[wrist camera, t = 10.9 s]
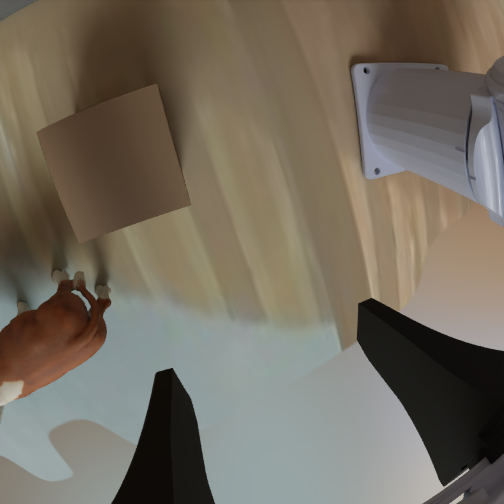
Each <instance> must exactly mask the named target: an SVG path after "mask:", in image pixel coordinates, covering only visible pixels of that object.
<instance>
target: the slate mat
mask: <svg viewBox="0 0 504 504" xmlns="http://www.w3.org/2000/svg"><path fill="white" fill-rule="evenodd" d="M34 1H36V0H0V21H1V20H3V19H4V18H6V17H8V16H9V15H11V14H13V13H14V12H16V11H18V10H20V9H21V8H23V7H25V6H27V5H29V4H31V3H33V2H34Z"/></svg>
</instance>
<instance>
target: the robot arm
mask: <svg viewBox="0 0 504 504" xmlns="http://www.w3.org/2000/svg"><path fill="white" fill-rule="evenodd" d="M364 67H365V68H366V70H367V71H366V74H365V73H364V71H363V69H364ZM351 74H352V81H353V87H354V94H355V101H356V109H357V117H358V125H359V134H360V144H361V155H362V167H363V175H364V177H366V178H368V179H375V178H379V177H382V176H386V175H390V174H394V173H398V172H402V171H406V170H409V171H411V172H413V173H416V174H418V175H420V176H423V177H425V178H427V179H429V180H431V181H434V182H436V183H438V184H440V185H442V186H445V187H447V188H449V189H451V190H453V191H455V192H457V193H459V194H461V195H463V196H465V197H467V198H469V199H471V200H473V201H475V202H477V203H479V204H481V205H483V206H484V207H486V208H487V210H488V212H489V216H490V219H491V220H493V221H494V222H496V223H498V224H499V225H501V226H503V227H504V56H502V57H500V58H499V59H497V60H496V61H495V63H494V64H493V66H492V67H491V68H490V69H489V70H488V71H487V73H486V75H485V74H478V73H469V72H460V71H449V68H448V66H447V65H444V64H428V63H357V64H354V65H353V66H352V67H351ZM376 168H377V171H376V173H374V170H375V169H376ZM357 341H358V343H359V344H360V346H361V348H362V350H363V351H364V353H365V355H366V356H367V358H368V360H369V361H370V362H371V364H372V365H373V366H374V368H375V369H376V370H377V371H378V373H379V374H380V375H381V377H382V378H383V379H384V381H385V382H386V383H387V385H388V386H389V387H390V388H391V390H392V391H393V392H394V394H395V395H396V396H397V397H398V399H399V400H400V401H401V403H402V405H403V406H404V408H405V410H406V411H407V413H408V415H409V416H410V418H411V420H412V421H413V424H414V425H415V427H416V429H417V431H418V433H419V435H420V437H421V439H422V441H423V443H424V445H425V447H426V449H427V451H428V453H429V456H430V458H431V460H432V463H433V465H434V468H435V470H436V473H437V475H438V478H439V480H440V482H441V484H442V485H443V486H446V485H447V484H448V483H450V482H451V481H453V480H454V479H455V478H457V477H458V476H459V475H461V474H462V473H463V472H464V471H466V470H467V469H468V468H469V471H468V472H467V473H466V474H464V475H463V476H462V477H460V478H459V479H458V480H456V481H455V482H454V483H452V484H451V485H450V486H448V487H447V488H445V489H444V490H443V491H441V492H440V493H438V494H437V495H435V496H434V497H432V498H431V499H429V500H428V501H426V502H425V503H423V504H449V503H450V502H452V501H453V500H455V499H456V498H457V497H459V496H460V495H461V494H463V493H464V492H465V493H464V498H463V500H461V501H460V502H458V503H457V504H504V351H500V350H495V349H489V348H485V347H481V346H477V345H473V344H470V343H467V342H464V341H461V340H458V339H455V338H452V337H450V336H447V335H444V334H442V333H440V332H437V331H435V330H433V329H430V328H428V327H426V326H424V325H422V324H420V323H418V322H416V321H414V320H412V319H410V318H408V317H406V316H405V315H403V314H401V313H399V312H397V311H395V310H393V309H392V308H390V307H388V306H386V305H384V304H382V303H380V302H379V301H377V300H375V299H373V298H370V299H368V300H365V301H363V302H361V303H358V327H357ZM111 504H215V502H214V499H213V496H212V493H211V490H210V487H209V484H208V480H207V476H206V472H205V465H204V460H203V454H202V448H201V443H200V436H199V429H198V423H197V419H196V416H195V412H194V408H193V404H192V401H191V398H190V396H189V395H188V393H187V392H186V390H185V388H184V387H183V385H182V383H181V382H180V380H179V378H178V377H177V375H176V373H175V371H174V370H173V368H170V369H167V370H163V371H159V372H157V373H156V374H155V378H154V383H153V388H152V393H151V398H150V402H149V406H148V410H147V414H146V418H145V422H144V425H143V429H142V432H141V435H140V438H139V442H138V445H137V448H136V451H135V454H134V456H133V459H132V461H131V464H130V467H129V469H128V471H127V474H126V476H125V478H124V480H123V483H122V484H121V487H120V489H119V491H118V493H117V494H116V496H115V498H114V500H113V501H112V503H111Z"/></svg>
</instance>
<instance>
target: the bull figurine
mask: <svg viewBox="0 0 504 504" xmlns="http://www.w3.org/2000/svg"><path fill="white" fill-rule="evenodd" d="M69 277H70V276H69V274H68V273H67V272H66V270H65V269H63V270H62V271H60V270H55V271H53V273H52V279H53V282H54V283H56V284H58V285H59V286H58V289H57V292H56V293H55V294H54V295H53V296H52V297H51V298H50V299H49V300H47V301H45V302H44V303H42V304H41V305H40V306H39V307H38V309H37V310H30V309H29V308H28V306H27V303H24V302H23V301H19V302H18V303H17V307H18V315H17V316H16V317H15V318H13V319H12V320H11V321H10V324H8V325H7V326H5V327H4V328H3V329H2V331H1V332H0V406H2V405H5V404H6V403H8V402H10V401H13V400H16V399H19V398H23V397H26V396H28V395H29V394H31V393H32V392H34V391H36V390H37V389H39V388H41V387H44V386H46V385H48V384H50V383H51V382H53V381H55V380H57V379H58V378H60V377H62V376H63V375H64V374H65V373H67V372H68V371H70V370H72V369H74V368H75V367H77V366H79V365H80V364H82V363H83V362H85V361H86V360H88V359H89V358H90V357H92V356H93V355H94V354H95V353H96V352H97V351H98V350H99V349H100V348H101V346H102V345H103V344H104V342H105V339H106V334H107V329H106V324H105V321H104V319H103V314H104V312H105V310H106V309H107V308H108V307H109V306H110V305H111V300H110V299H109V294H110V293H111V289H110V288H109V287H108V286H103V285H97V286H96V287H95V293H96V294H97V296H98V299H97V300H96V299H95V298H94V297H93V295H92V294H91V293H90V292H88V290H87V289H86V281H85V278H84V273H83V272H80V271H78V272H76V273H75V276H74V279H73V280H70V279H69ZM73 290H77V291H80V292H81V293H82V295H83V296H84V297H85V298H86V299H87V300H88V302H89V303H90V305H91V308H90V309H89V311H87V308H86V306H85V303H84V301H83V300H82V299H81V298H80V297H79V296H78V295H75V294H73V293H72V292H71V291H73Z"/></svg>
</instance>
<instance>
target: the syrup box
mask: <svg viewBox="0 0 504 504" xmlns="http://www.w3.org/2000/svg"><path fill="white" fill-rule="evenodd" d="M3 409H4V405H2V406H0V422H1V418H2V414H3Z"/></svg>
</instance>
